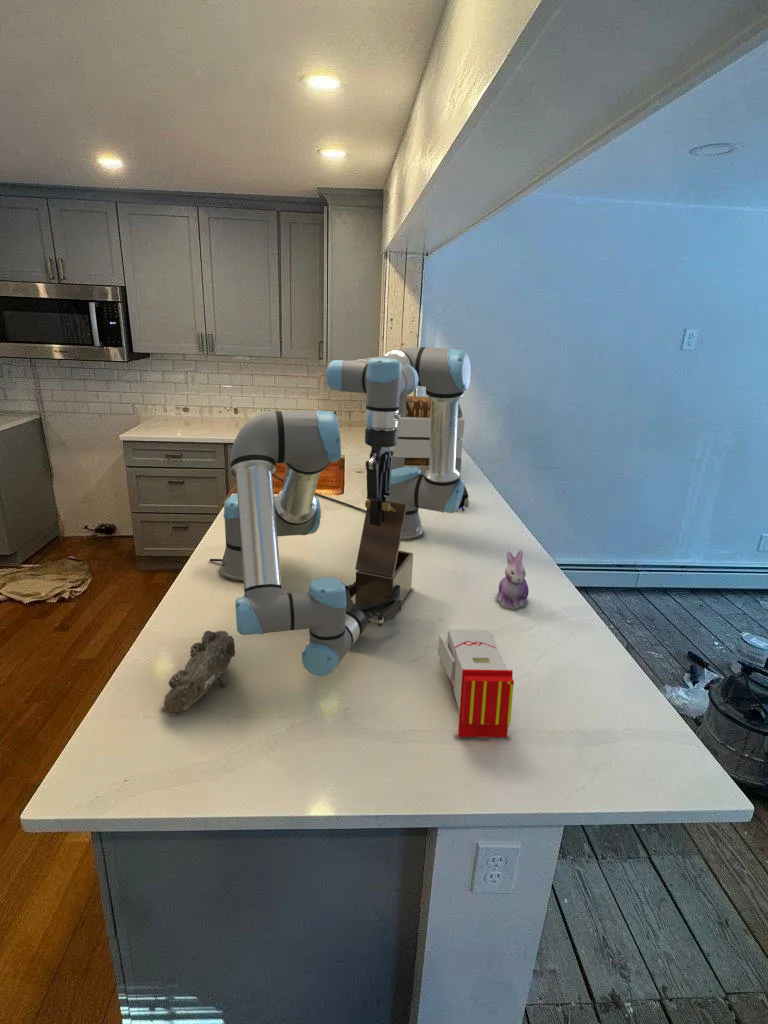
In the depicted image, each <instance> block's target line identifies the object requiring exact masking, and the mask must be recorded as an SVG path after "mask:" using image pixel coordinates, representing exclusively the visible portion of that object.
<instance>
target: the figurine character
mask: <svg viewBox="0 0 768 1024" xmlns="http://www.w3.org/2000/svg"><path fill="white" fill-rule="evenodd" d="M469 505H470V500H469V492H468V490H467V488H466V486H465V487H464V492H463V496H462V500H461V502H460V505H459V507H458V509H461V511H462V512H464V511H465V508H469Z"/></svg>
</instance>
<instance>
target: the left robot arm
mask: <svg viewBox="0 0 768 1024" xmlns="http://www.w3.org/2000/svg"><path fill="white" fill-rule="evenodd" d="M341 456H342V442H341V434H340V426H339V420H338V417H337V415H336V413H335V412H333V411H331V410H321V409H317V410H266V411H262V412H260V413H259V412H258V413H257V414H256V415H254V416H253V417H251V418H250V419H248V421H246V422H245V424H244V425H243V426H242V428H241V429H240V430H239V431H238V432H237V435H236V437H235V439H234V442H233V444H232V447H231V451H230V457H229V458H230V460H229V461H230V464H229V465H230V473H231V475H232V476H234V478H236V493H235V494H232V495H230V496H229V497H227V498H226V499H225V501H224V502H223V503H224V504H223V519H224V532H225V534H224V535H225V549H224V553H223V556H222V558H209V562H220V574H221V575H222V576H223V577H224V578H226V579H228V580H231V581H234V582H235V581H236V582H243V592H244V593H243V596H241V597H238V598H236V599H235V601H234V602H235V603H234V604H235V618H236V619H235V621H236V623H235V624H236V631H237V632H238V634H240V635H242V636H250V635H261V636H263V635H265V634H272V633H273V634H274V633H279V632H281V633H282V632H288V631H290V632H291V631H299V630H300V631H301V630H307V629H308V633H309V634H308V635H309V636H308V639H309V640H308V641H309V642H308V643H307V644H306V645H305V647H304V649H303V651H302V652H301V656H300V659H301V662H302V666H303V667H304V669H305V670H306V671H307V672H308V673H309V674H311V675H313V676H315V677H320V678H324V677H328V676H330V675H331V673H333V672H334V670H335V669H336V668H338V667H339V666H340V664H341V662H342V661H343V659H345V656H346V655H347V654H348V653H349V651H350V649H351V648H352V647H353V645H354V644H355V643H356V642H357V640H358V639H359V638H360V636H361V635H362V634H363V632H364V631H365V630H366V628H367V626H368V625H370V624H371V623H377V626H378V627H383V626H384V624H385V622H387V621H388V620H389V619H392V618H393V617H394V616H396V615H397V614H399V613H400V612H402V606H403V604H402V603H403V601H401V600H399V599H400V586H399V585H397V587H396V588H395V589H394V591H393V592H392V593H391V594H390V596H389V599H387V600H385V601H382V602H379V603H377V604H374V605H372V604H369V605H366V606H361V605H358V604H355V603H354V602H353V599H352V598H353V597H355V588H356V580H355V581H354V582H353V583H352V584H347V585H345V584H344V583H343V581H341V580H339V579H338V578H335V577H330V576H329V577H328V576H324V577H319V578H317V579H316V578H315V579H313V580H312V581H311V582H310V583H309V586H308V590H307V591H297V592H296V591H295V592H284V593H283V586H282V573H281V564H280V563H281V561H280V550H279V541H278V540H279V538H278V537H290V536H307V535H313V534H316V532H317V531H318V530H319V529H320V524H321V517H322V512H321V511H322V509H321V501H320V499H319V498H318V496H317V495H314V494H315V493H316V490H317V487H318V483H319V479H320V475H321V473H322V472H323V471H325V470H326V469H327V468H328V466H329V464H330V463H335V462H338V461H340V460H341V458H342V457H341ZM277 464H285V466H286V467H285V472H284V479H283V480H284V482H283V486H282V490H280V491H279V492H278V494H277V495H276V496H275V493H274V481H273V476H272V475H273V474H274V475H275V473H276V471H277ZM369 609H370V610H369Z"/></svg>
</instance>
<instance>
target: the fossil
mask: <svg viewBox="0 0 768 1024" xmlns="http://www.w3.org/2000/svg"><path fill="white" fill-rule="evenodd" d="M235 647H236V645H235V638H234V637H233V636H232V635H229V632H227V631H226V630H219V631H218V630H217V631H211V630H206V631H204V633H203V634H202V637H201V641H198V642H195V643H193V644H192V645H191V647H190V650H189V652H190V655H189V656H190V658H189V660H188V661H187V662H186V665H185V667H184V669H179V670H177V672H176V673H174V674H173V675H172V676H171V677H170V678H169V681H168V686H169V687H170V688H171V689H170V690H169V692H167V694H166V695H165V696H164V700H163V701H164V702H163V705H164V709H165V710H168V711H170V712H172V713H174V712H178V711H179V712H180V711H183V710H186V711H187V709H189V708H190V707H191V706H192V705H193V704H195V702H197V701H198V700H199V699H200V698H201V697H202V696H203V695H204V694H205V693H206V692H207V691H209V690H210V688H211V687H212V684H214V683H215V682H217V681H218V682H219V683H220V685H224V684H225V682H224V680H222V679H221V678H220V675H221V674H222V673H224V672H225V671H226V670H227V668H229V665H230V663H231V661H232V659H233V658H234V657H235V655H236V649H235Z"/></svg>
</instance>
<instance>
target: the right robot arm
mask: <svg viewBox="0 0 768 1024" xmlns="http://www.w3.org/2000/svg"><path fill="white" fill-rule="evenodd" d="M325 373H326V374H325V375H326V378H325V379H326V380H325V381H326V384H327V386H328V388H329V389H330V390H332V391H337V392H341V393H343V392H346V393H357V394H366V398H365V399H366V400H365V401H366V402H365V418H364V419H365V421H364V424H365V425H364V426H366V428H365V429H364V443H365V444H366V445H367V446H370V447H371V450H370V453H369V460H366V461H365V469H366V500H369V499H370V500H371V504H370V524H371V525H377V526H381V522H385V511H384V510H382V502H385V503H386V501H387V502H394V503H400V504H406V505H407V508H406V514H405V519H404V525H403V530H402V536H401V541H410V540H415V539H418V538H420V537H421V536H422V535H423V525H422V524H421V518H420V515H419V509H422V510H427V511H433V512H439V513H442V514H443V513H447V514H454V513H456V512H457V511H458V509H459V508H458V507H459V505H460V502H461V500H462V496H463V492H464V487H466V483H465V480H463V479H461V474H459V472H458V471H457V470H456V469H455V462H456V441H457V419H458V402H459V399H461V398H462V397H463V396H464V393H465V391H467V390H468V389H469V388H470V383H471V377H472V369H471V361H470V357H469V355H468V353H467V352H466V351H464V350H462V349H455V348H451V347H450V348H449V347H427V346H426V347H425V346H412V347H405V348H400V349H395V350H389V351H388V352H386V354H384V355H380V356H373V357H366V358H362V359H354V360H344V359H341V360H340V359H334V360H331V362H329V364H328V366H327V367H326V372H325ZM417 387H424V388H425V395H426V397H429V398H430V399H431V407H430V455H429V465H428V468H427V469H426V470H425V471H424V473H422V469H421V468H419V467H417V466H404V467H403V468H397V469H393V470H391V468H392V459H393V455H394V452H393V451H390V447H393V446H395V445H396V444H397V433H398V431H397V429H395V428H396V427H397V426H398V419H400V415H398V410H399V397H402V396H403V397H404V396H410V394H412V393H414V391H415V390H416V389H417ZM272 477H274V478H275V479H277V480H279V481H280V482H283V483H284V479H282V478H280V477H279V476H277V475H276V474H275V473H274V474H273V475H272ZM459 477H460V480H459ZM314 495H315V496H316V497H320V498H324V499H327V500H330V501H332V502H335V503H337V504H338V503H339V504H341V505H344V506H347V507H350V508H353V509H355V510H357V511H361V512H362V513H365V514H366V510H367V509H363V508H361V507H358V506H355V505H352V504H350V503H347V502H344V501H341V500H339V499H336V498H332V497H330V496H329V497H328V496H326V495H323V494H319V493H317V492H315V494H314Z"/></svg>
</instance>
